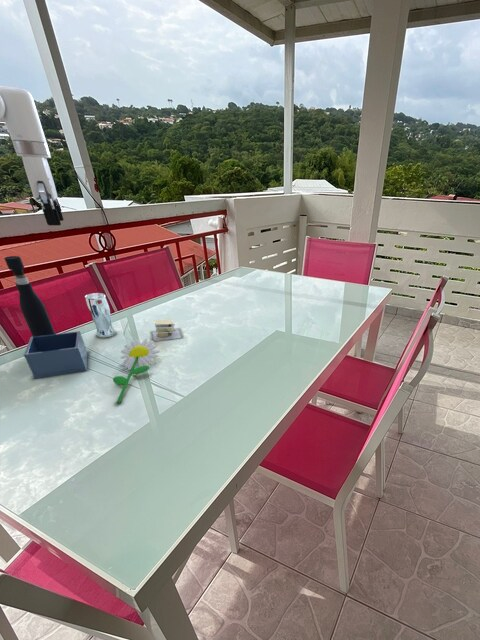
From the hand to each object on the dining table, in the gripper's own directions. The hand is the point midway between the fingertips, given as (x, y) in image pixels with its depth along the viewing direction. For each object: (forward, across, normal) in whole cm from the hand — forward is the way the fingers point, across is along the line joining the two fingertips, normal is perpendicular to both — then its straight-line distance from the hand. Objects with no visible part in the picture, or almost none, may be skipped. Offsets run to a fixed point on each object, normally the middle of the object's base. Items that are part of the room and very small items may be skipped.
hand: (56, 222), depth 97 cm
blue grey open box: (+40, +12, -10) cm, 42 cm away
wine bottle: (+40, -3, -15) cm, 43 cm away
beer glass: (+40, -9, +3) cm, 41 cm away
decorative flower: (+40, +28, +10) cm, 50 cm away
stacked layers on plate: (+40, -1, +24) cm, 47 cm away
